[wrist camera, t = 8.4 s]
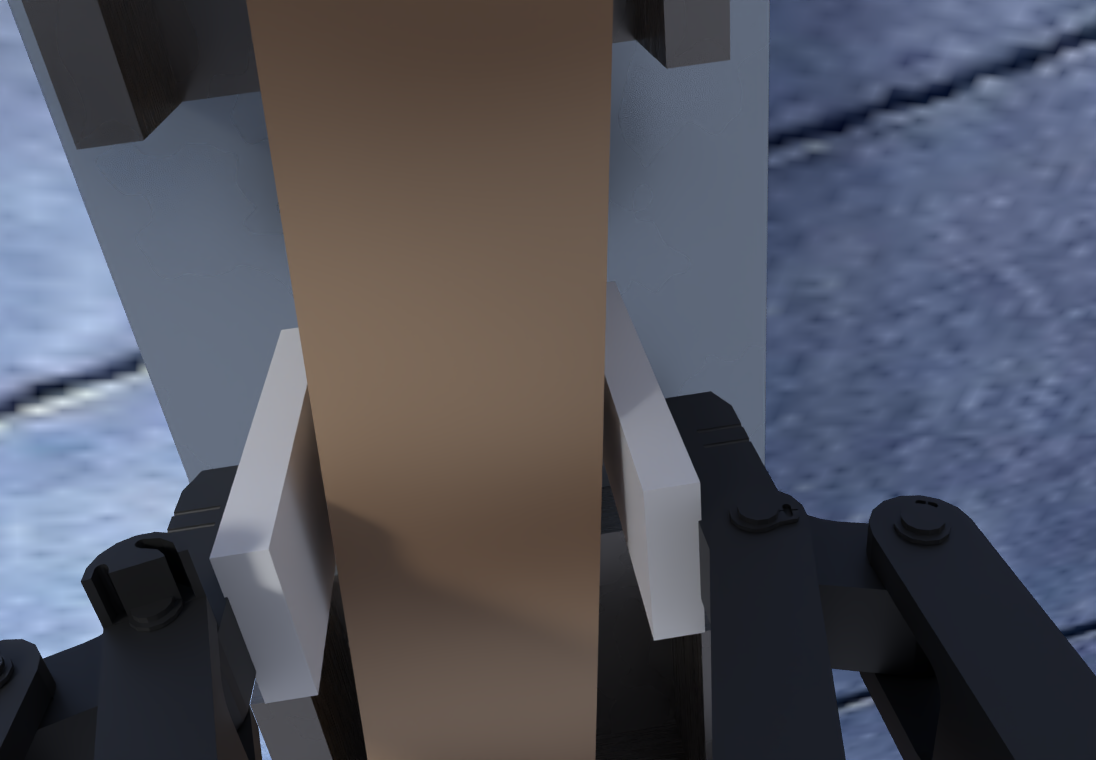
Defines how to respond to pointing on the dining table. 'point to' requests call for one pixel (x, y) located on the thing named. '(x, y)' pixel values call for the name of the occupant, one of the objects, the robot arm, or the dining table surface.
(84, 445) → the dining table surface
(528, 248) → the rail
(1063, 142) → the dining table surface
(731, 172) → the block fixture
